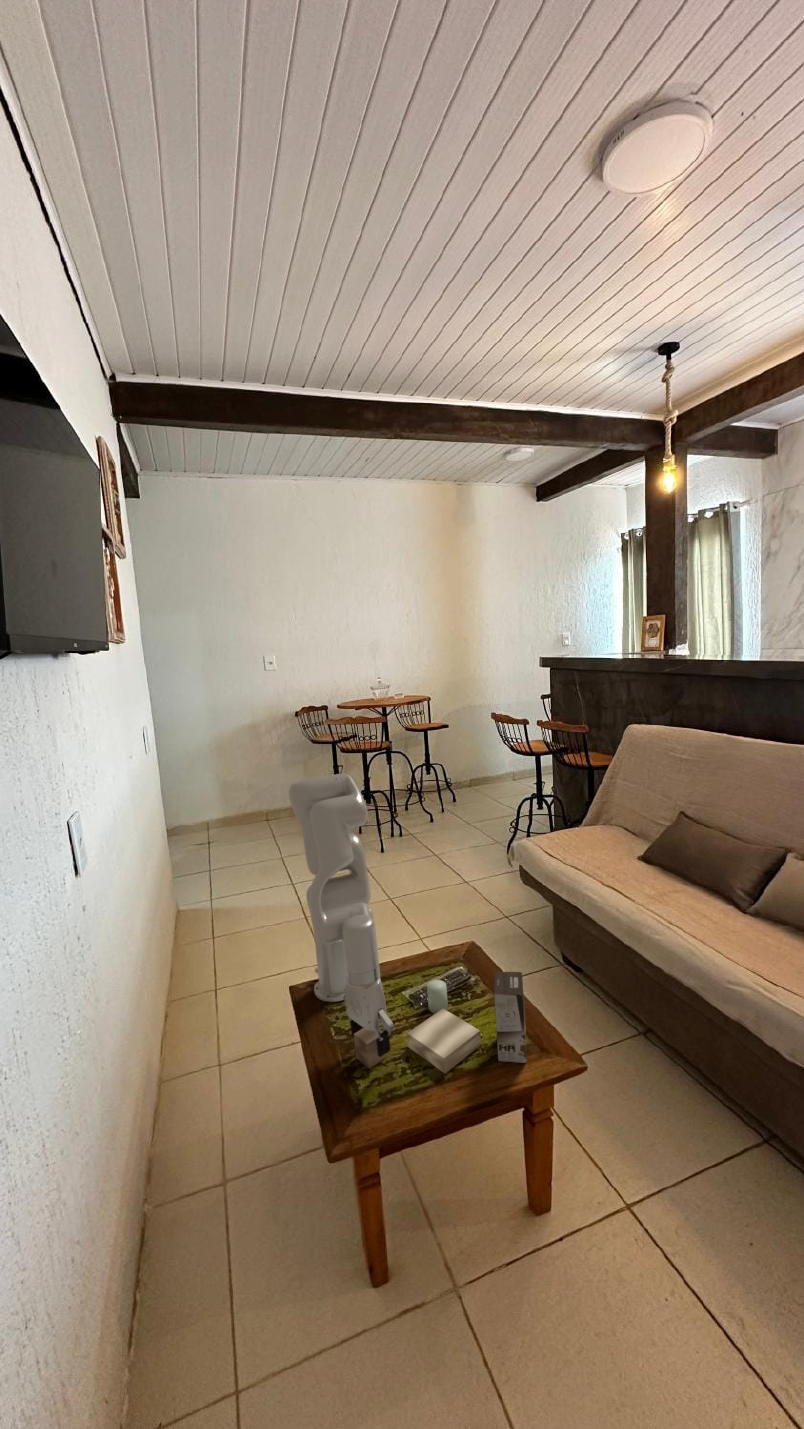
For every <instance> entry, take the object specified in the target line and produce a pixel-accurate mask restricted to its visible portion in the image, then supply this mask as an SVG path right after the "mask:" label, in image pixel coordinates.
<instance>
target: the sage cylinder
mask: <svg viewBox="0 0 804 1429" xmlns="http://www.w3.org/2000/svg"><path fill="white" fill-rule="evenodd" d="M447 989H448V988H447V983H446V982H445V981H443V980H440V979H433V980H431V981H429V982H428V983H427V984H426V990H427V1003H428V1010H429V1012H431V1013H433V1014H436V1013H437V1012H439V1011H440V1010H441V1009H445V1010H447V1011H448V1008H449V1005H448V1004H449V1003H448V991H447Z"/></svg>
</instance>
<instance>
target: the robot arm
mask: <svg viewBox="0 0 804 1429" xmlns="http://www.w3.org/2000/svg"><path fill="white" fill-rule="evenodd" d="M288 789H289V790H288V798H289V802H290V807H291V809H292V811H293V813H294V815H295V816H296V818H297V820H298V823H299V825H300V828H301V832H302V838H303V847H304V852H305V858H306V860H305V861H306V863H307V864H306V865H307V869H308V870H309V873H310V874H312V875H313V876H314V878H313V879H312V883H311V884H310V885H309V887H308V888H307V889H306V894H305V895H306V902H307V903H306V904H307V906H308V910H309V913H310V919H311V924H312V931H313V937H314V947H315V955H316V956H315V957H316V966H317V967H315V969H314V973H316V974H317V976H318V980H319V981H318V980H317V981H318V982H317V981H316V983H315V985H314V988H313V990H314V991H313V992H314V995H315V996H316V998H318V999H319V1000H321V1001H323V1002H327V1003H336V1002H340V1001H344V1003H345V1011H346V1014H347V1018H348V1019H349V1020H350V1021H349V1024H350V1032H351V1034H350V1035H351V1037H352V1038H354V1034H355V1033H356V1032H358V1031H359V1030H361V1029H362V1028H365V1029H367V1030H368V1031H373V1030H374V1031H375V1033H376V1035H377V1037H378V1039H376V1042H377V1052H378V1056H379V1057H381V1056H383V1055H384V1054H386V1055H387V1053H389V1052H390V1050H391V1042H390V1036H391V1034H392V1033H393V1030H394V1027H395V1025H394V1024H395V1023H393V1021H392V1020H391V1019H390V1017H389V1016H388V1012H387V1009H388V1008H387V1003H386V998H385V992H384V988H383V984H382V980H381V969H380V960H379V950H378V942H377V941H378V939H377V929H376V923H375V921H374V915H373V911H372V908H371V907H370V906H369V905H368V904H369V903H370V901H371V886H370V880H369V874H368V868H367V862H366V855H365V849H364V846H363V844H362V841H361V839H360V837H359V836H358V835H356V834H355V833H354V834H353V833H349V829H355V828H360V827H363V826H365V825H366V824H367V822H368V817H369V812H368V807H367V803H366V801H365V799H364V796H363V794H362V793H361V791H360V789H359V787H358V785H357V783H356V782H355V780H354V779H353V778H352V776H351V775H349V774H348V773H336V774H330V775H324V776H318V777H317V776H316V777H310V778H306V779H301V780H298V781H296V782H294V783H292V784H291V785H290V787H289V788H288ZM346 870H348V871H349V873H346V874H342V875H338V876H334V875H336V874H337V873H339V872H342V871H346ZM379 1027H382V1029H383V1031H382V1033H380V1030H381V1029H380V1028H379Z"/></svg>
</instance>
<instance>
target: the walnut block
mask: <svg viewBox="0 0 804 1429" xmlns="http://www.w3.org/2000/svg"><path fill="white" fill-rule="evenodd" d="M379 1030H380V1033H382V1032H383V1031H382V1030H381V1029H379ZM353 1039H354V1051H355V1058H356V1059H357V1060H358V1061H359V1062H361V1064H363V1065H364V1066H366V1068H368V1069H369V1070H370V1069H372V1068H373V1067H374V1066H376V1065H378V1063H380V1062H381V1061H383V1060H384V1059H386V1058H387V1053H386V1054H384V1055H383V1056H381V1057H379V1056H378V1052H377V1042H376V1039H378V1037H377V1035H376V1033H375V1031H374V1030H373V1031H368V1030H367V1029H365V1028H362V1029H361V1030H359V1031H358V1032H356V1033H355V1034H354V1037H353Z"/></svg>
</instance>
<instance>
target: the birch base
mask: <svg viewBox="0 0 804 1429" xmlns="http://www.w3.org/2000/svg"><path fill="white" fill-rule="evenodd" d="M406 1034H407V1046H408V1048H409V1049H410V1050H411V1051H412V1052H414V1053H416V1054H418V1056H420V1057H422V1058H423V1059H424V1060H426V1062H429V1063H430V1064H431V1065H432V1066H434V1067H435V1068H436V1069H438V1070H439V1071H441V1072H442V1073H444V1074H447V1073H448V1072H449V1071H450V1070H452V1069H453V1068H454V1067H455V1066H457V1065H458V1064H460V1062H462V1061H463V1060H465V1058H467V1057H469V1055H471V1054H472V1053H473V1052H474V1051H476V1049H478V1048H479V1047H481V1046H482V1038H481V1030H480V1029H478V1028H476V1027H475V1026H473V1025H472V1024H470V1023H468V1022H467V1021H465V1020H463V1019H461V1018H460V1017H458V1016H457V1015H455V1014H453V1013H452V1012H450V1011H448V1009H447V1010H445V1009H441V1010H440V1011H439V1012H437V1013H436V1014H435V1013H433V1015H431V1016H430V1017H428V1018H427V1019H425V1020H424V1021H423V1022H421V1023H420V1024H419V1025H417V1026H415V1027H414V1028H413V1029H411V1030H410V1031H408V1032H407V1033H406Z"/></svg>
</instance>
